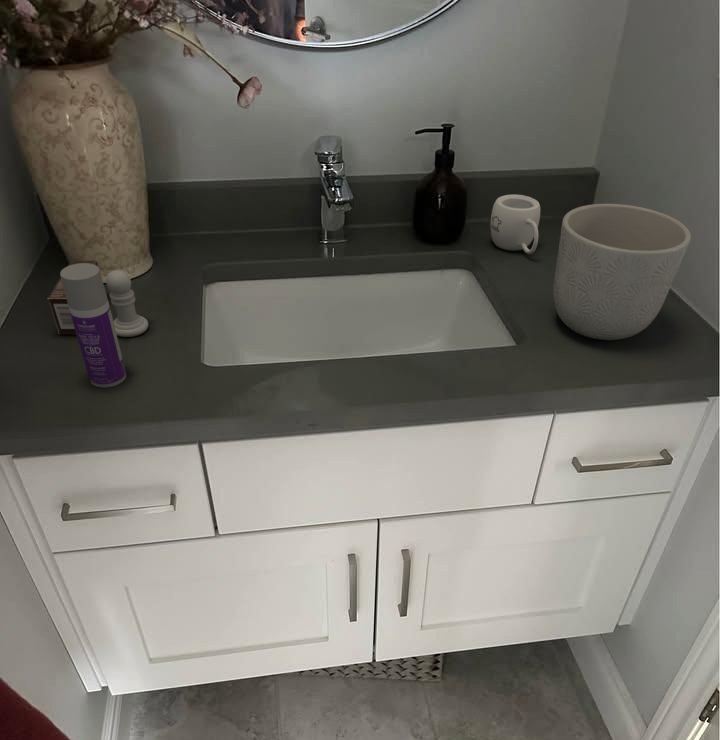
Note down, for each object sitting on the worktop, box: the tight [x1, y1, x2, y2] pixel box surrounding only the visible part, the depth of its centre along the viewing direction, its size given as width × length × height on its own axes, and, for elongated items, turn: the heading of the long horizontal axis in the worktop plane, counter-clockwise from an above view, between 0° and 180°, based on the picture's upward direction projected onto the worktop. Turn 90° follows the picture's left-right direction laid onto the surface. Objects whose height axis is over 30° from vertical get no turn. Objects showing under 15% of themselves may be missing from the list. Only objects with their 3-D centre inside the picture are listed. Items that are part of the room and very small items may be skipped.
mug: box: [489, 194, 541, 255], centre depth 122 cm, size 12×8×8 cm
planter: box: [552, 203, 692, 341], centre depth 100 cm, size 17×17×15 cm
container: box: [59, 263, 127, 389], centre depth 87 cm, size 5×5×15 cm
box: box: [47, 260, 99, 336], centre depth 102 cm, size 6×4×12 cm
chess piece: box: [105, 269, 149, 338], centre depth 98 cm, size 5×5×9 cm
